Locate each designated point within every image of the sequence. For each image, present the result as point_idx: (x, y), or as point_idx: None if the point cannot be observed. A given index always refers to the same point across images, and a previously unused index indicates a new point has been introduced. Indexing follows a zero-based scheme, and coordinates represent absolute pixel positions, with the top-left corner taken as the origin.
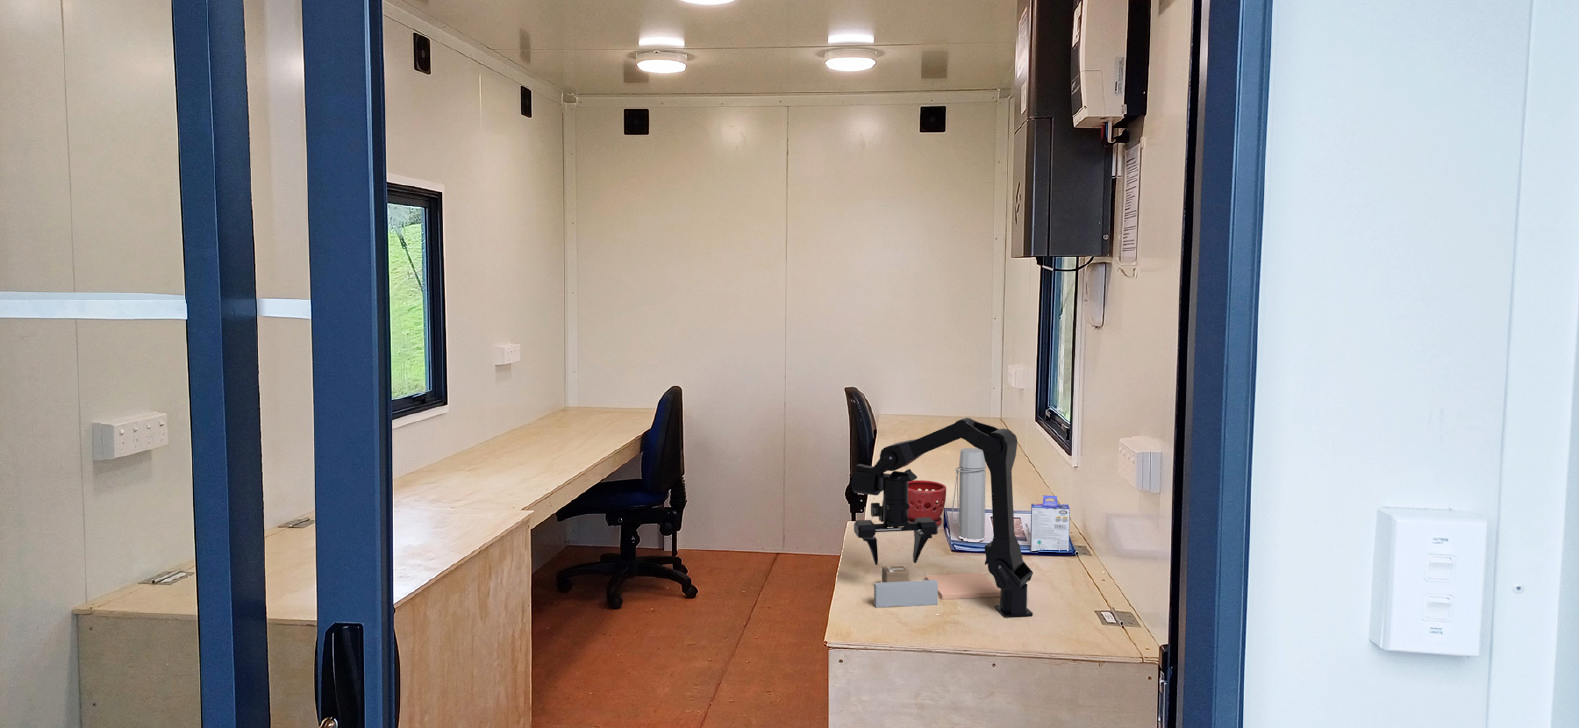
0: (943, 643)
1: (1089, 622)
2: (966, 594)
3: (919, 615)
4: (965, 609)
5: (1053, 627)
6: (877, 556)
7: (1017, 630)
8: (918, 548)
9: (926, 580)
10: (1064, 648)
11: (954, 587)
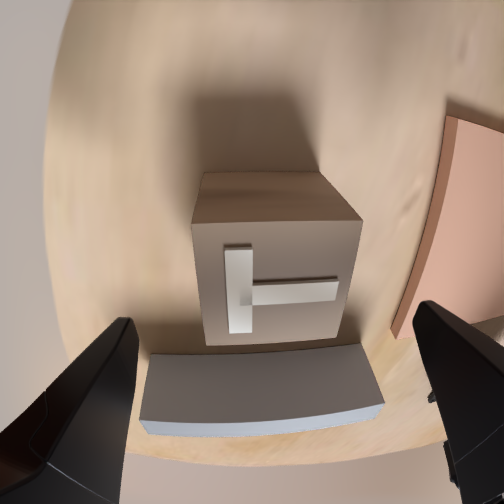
0: (268, 463)
1: None
2: None
3: None
4: (396, 378)
5: None
6: (128, 415)
7: (403, 427)
8: (449, 433)
9: (352, 411)
10: (407, 446)
11: (467, 279)
